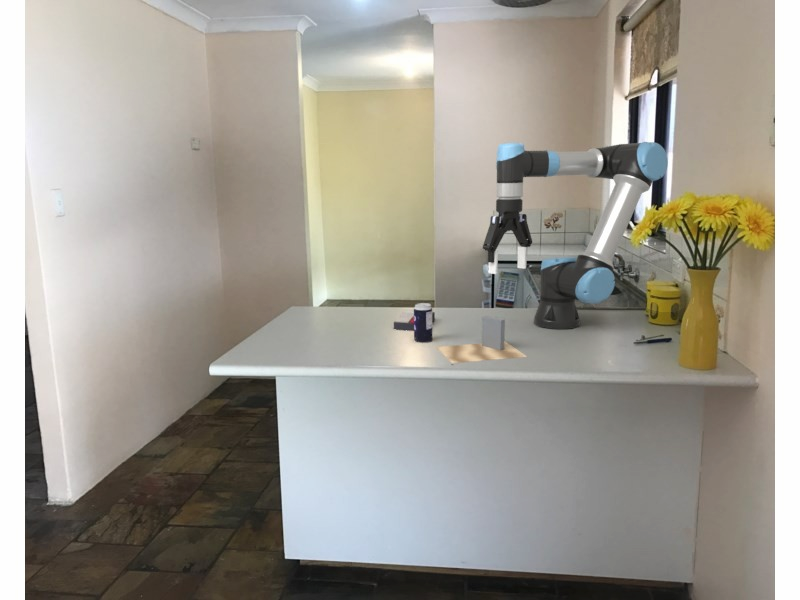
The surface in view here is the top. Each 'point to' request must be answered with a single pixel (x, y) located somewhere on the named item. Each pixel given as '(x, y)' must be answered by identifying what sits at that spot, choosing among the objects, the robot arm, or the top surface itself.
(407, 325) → the calculator
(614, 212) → the robot arm
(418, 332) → the beverage can
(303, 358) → the top surface
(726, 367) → the top surface
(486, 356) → the cork mat
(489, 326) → the slate tile
